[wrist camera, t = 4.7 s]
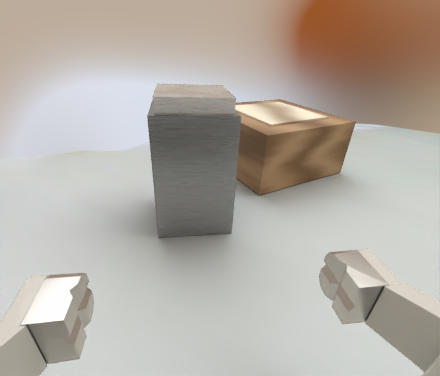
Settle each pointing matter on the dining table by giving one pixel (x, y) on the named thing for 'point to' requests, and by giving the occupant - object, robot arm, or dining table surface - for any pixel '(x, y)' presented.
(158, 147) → the block
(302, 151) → the stand
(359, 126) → the dining table surface
